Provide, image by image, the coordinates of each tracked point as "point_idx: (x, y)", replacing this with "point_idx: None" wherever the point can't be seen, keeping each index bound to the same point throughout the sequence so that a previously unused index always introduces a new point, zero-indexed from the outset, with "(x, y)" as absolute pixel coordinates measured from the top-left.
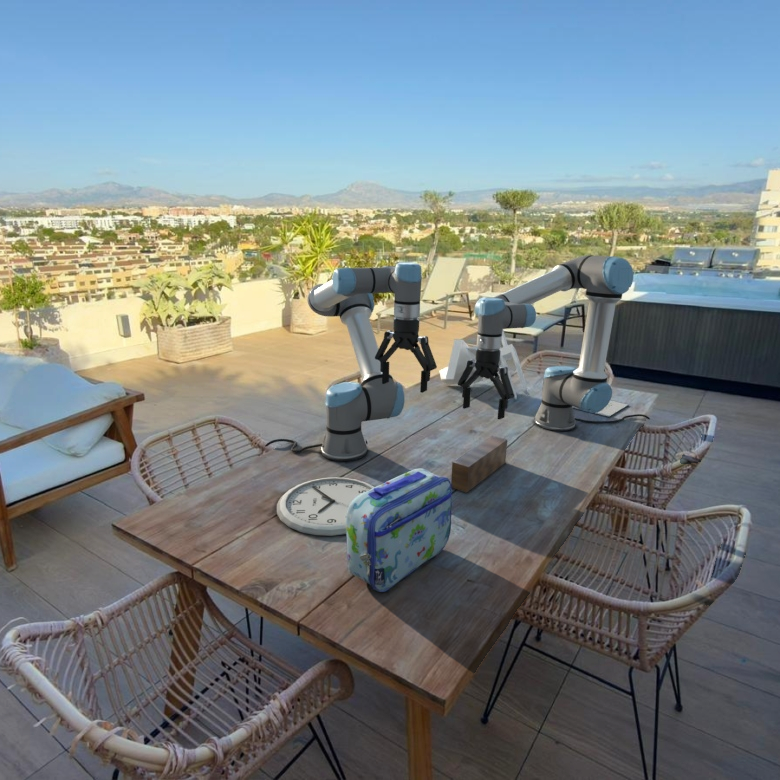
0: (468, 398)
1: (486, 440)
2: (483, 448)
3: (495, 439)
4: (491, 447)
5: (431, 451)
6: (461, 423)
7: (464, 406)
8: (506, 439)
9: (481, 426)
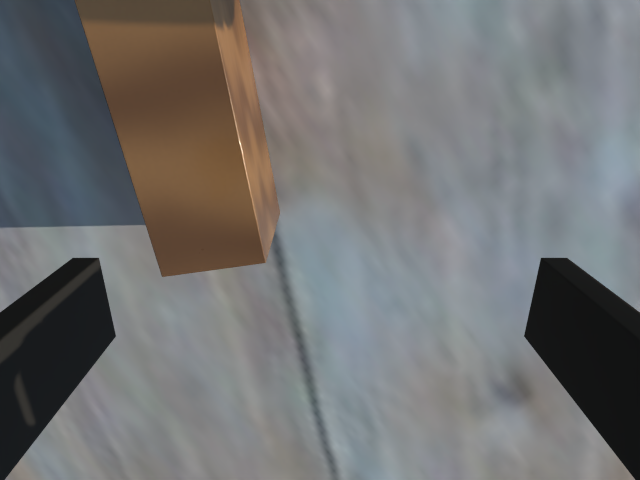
0: (593, 380)
1: (235, 164)
2: (148, 17)
3: (210, 225)
4: (129, 84)
5: (562, 49)
6: None
7: (558, 268)
8: (166, 274)
9: (511, 452)
